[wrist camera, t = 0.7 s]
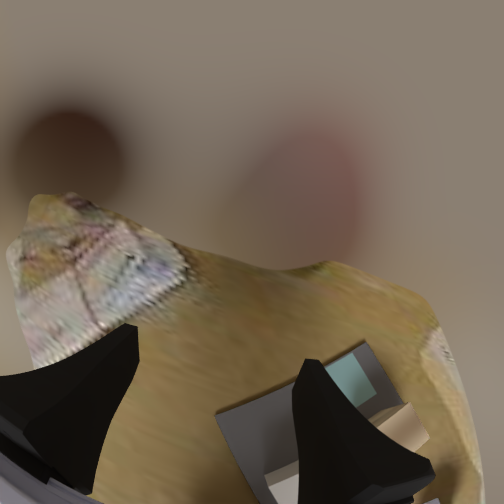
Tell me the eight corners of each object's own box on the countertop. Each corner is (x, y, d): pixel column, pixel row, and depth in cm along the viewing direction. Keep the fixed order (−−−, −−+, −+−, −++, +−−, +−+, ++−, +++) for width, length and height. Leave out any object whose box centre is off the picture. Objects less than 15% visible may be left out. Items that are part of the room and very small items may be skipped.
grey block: (326, 488, 17) (345, 500, 13) (283, 508, 16) (293, 526, 11) (307, 455, 20) (322, 461, 15) (264, 475, 19) (268, 486, 14)
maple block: (398, 440, 20) (429, 437, 15) (364, 465, 18) (392, 469, 14) (381, 410, 22) (409, 401, 17) (346, 433, 21) (370, 431, 16)
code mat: (419, 437, 20) (422, 436, 19) (274, 524, 15) (274, 526, 15) (364, 343, 28) (366, 341, 27) (215, 416, 23) (214, 415, 23)
